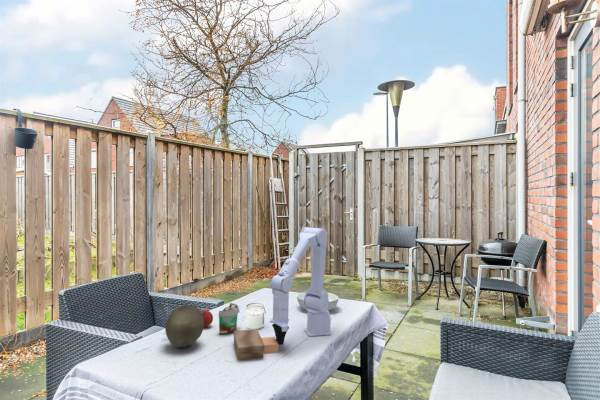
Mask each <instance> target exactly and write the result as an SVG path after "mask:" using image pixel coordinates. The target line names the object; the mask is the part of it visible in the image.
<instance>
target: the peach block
mask: <svg viewBox="0 0 600 400" xmlns="http://www.w3.org/2000/svg"><path fill="white" fill-rule="evenodd" d="M261 339H262V341H263V343H264V345H265V348H264V351H263V355H264V354H273V353H274V354H275V353H279V345H278V342H277V341H276V336H269V337H261Z"/></svg>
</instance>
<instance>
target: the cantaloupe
mask: <svg viewBox="0 0 600 400" xmlns="http://www.w3.org/2000/svg"><path fill="white" fill-rule="evenodd" d="M202 312H203V311H202V310H201V309H199V307H197V306H195V305H190V304H189V305H188V304H185V305H180V306H178V307H176V308H175V309H173V310H172V311H171V312H170V314H169V315H168V318H167V319H166V322H165V325H164V326H165V329H164V330H165V334H166V335H165V336H166V337H167V339H168V341H169V343H170V344H172V345H173V346H174V347H176V348H187V347H189V346H192V345H193V344H194V343H195V342H197V340H198V339H199V338H201V336H202V334H203V330H204V328H205V327H204V318H203V315H202Z"/></svg>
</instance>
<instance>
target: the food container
mask: <svg viewBox="0 0 600 400" xmlns="http://www.w3.org/2000/svg"><path fill="white" fill-rule="evenodd" d="M239 313H240V308H239V305H238V304H236V303H233V302H232V303H231V302H230V303H229V305H228V306H227V307H225V308H223V309H222V310H219V311H218V322H219V323H218V326H219V328H218V329H219V330H218V331H219V332H218V333H219V335H220V336H227V335H232V334H234V331H237V327H238V326H237V325H238V315H239Z"/></svg>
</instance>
